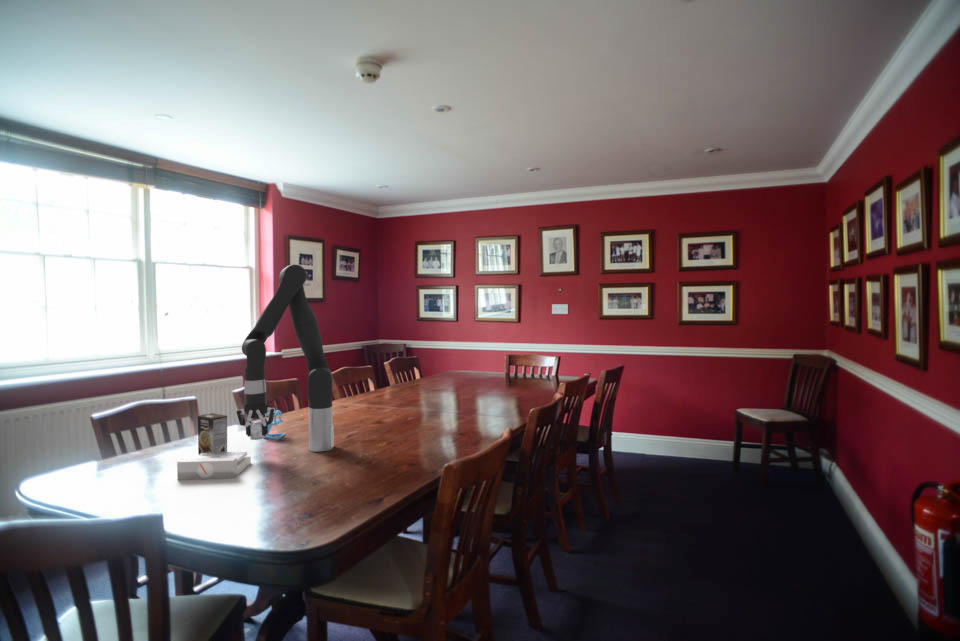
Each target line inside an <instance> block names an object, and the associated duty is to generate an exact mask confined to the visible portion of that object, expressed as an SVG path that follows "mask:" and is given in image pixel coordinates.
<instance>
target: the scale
mask: <svg viewBox="0 0 960 641" xmlns="http://www.w3.org/2000/svg"><path fill="white" fill-rule="evenodd" d="M251 461H252V459H251V456H250V455H249V456H248V455H247V456H245V457H244V458H243V459H242V460H241V461H239V462H238V463H237V458H213V459H193V458H190V459H189V458H187V459H184V458H181V459H180V460H178V461H176V465H177V466H176V468H177V470H176V472H177V475H176V476H177V481H186V480H187V481H189V480H213V479H214V480H216V479H217V480H218V479H235V477H237V476H238V475H239V474H240V473H241V472H242V471H244V470H245V469H246V468H247V467H248V466H249V465H250V464H251Z"/></svg>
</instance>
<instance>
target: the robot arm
mask: <svg viewBox="0 0 960 641" xmlns="http://www.w3.org/2000/svg"><path fill="white" fill-rule="evenodd" d="M307 276H308V275H307V271H306V269H305V268H304V267H303V266H301V265H299V264H290V265H287V266H285V267H283V269H282V270H281V271H280V272H279V278H278V279H279V285H278V287H277V289H276V292H274V293H275V294H274V295H273V296H272V298H271V299H270V301H269V302H268V304H267V305H266V307H265V308H264V309H263V311H262V312H261V314H260V316H259V318H258V320H257V321H256V323H255V325H254V327H253V328H252V329H251V330H250V332H249V333H248V335H247V336H246V337H245V338H244V341H243V342H242V344H241V351H242V354H243V355H244V356H245V357H246V365H245V366H244V371H243V372H244V386H243V387H244V388H243V392H244V408H242V409H241V408H240V409H237V411H236V416H237V419H238V423H239V425H240V427H241V426H242V427H245V434H246V436H247V437H248V438H250V422H253V419H259V421H262V424H263V436H266V435H267V433H268V425H269V424H271V423H272V422H273V420H274V418H275V417H274V414H275V410H277V409H276V408H275V407H269V406H268V403H267V384H266V376H265V375H266V373H265V371H266V370H265V366H266V365H265V364H266V357H267V348H266V345H265V343H266V341H267V339H268V338H270V337H271V336H272V335H273V334H274V332H275V330H276V328H277V327H278V325H279V323H280V321H281V319H282V317H283V316H284V313H285V312H286V309H287V308H289V313H290V318H291V321H292V327H293V330H294V333H295V337H296V340H297V342H298V344H299V346H300V349H301V351H302V353H303V355H304V357H305V360H306V361H305V362H306V365H307V370H308V371H307V372H308V376H307V377H308V378H307V401H308V402H307V403H308V450H309V452H315V453H316V452H325V451H332V450H333V448H334V447H335V435H334V434H335V432H334V431H335V430H334V429H335V427H334V426H335V424H334V423H333V373H332V372H331V369H330V367H329V364H328V362H327V359H326V356H325V353H324V350H323V349H324V348H323V341H322V335H321V331H320V326H319V322H318V320H317V318H316V315H315V313H314V311H313V309H312V307H311V306H310V303H309V302H308V298H307V296H306V292H305V287H304V285H305V283H306V281H307V279H308V278H307ZM245 413H246V415H247V418H246V419H245ZM267 413H269V414H270V415H268V419H267V416H266V415H265V414H267ZM267 420H268V421H267ZM268 434H269V433H268Z"/></svg>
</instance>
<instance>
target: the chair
mask: <svg viewBox="0 0 960 641" xmlns="http://www.w3.org/2000/svg"><path fill="white" fill-rule="evenodd" d="M282 413H283V412H282V410H279V409H276V410H275V414H274V419H273V422H272V423H271V424H269V425H268V433H267V435H266V436H265V437H264V438H263V439H268V440H269V439H270V440H276V441H277V440H279V439H281V438H283V437H285V436H286V432H281V433H278V432H277V433H270V431H271V429H272V427H273V426H277V425H279V424H281V423H283V422H284V420H283V419H282V418H281V416H282ZM265 415H266V417H267V416H268V417H269V415H270V414H269V413H268V412H266V413H265ZM277 417H278V419H277ZM268 420H269V419H267V421H268Z"/></svg>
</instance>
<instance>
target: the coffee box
mask: <svg viewBox="0 0 960 641" xmlns="http://www.w3.org/2000/svg"><path fill="white" fill-rule="evenodd" d="M197 434H198V435H197V442H198V443H197V445H198V450H197V451H198V455H199V454H201V453H218V452H228V415H227V414H226V415H225V414H220V413H213V412H211V413H206V414H200V415H197Z"/></svg>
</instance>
